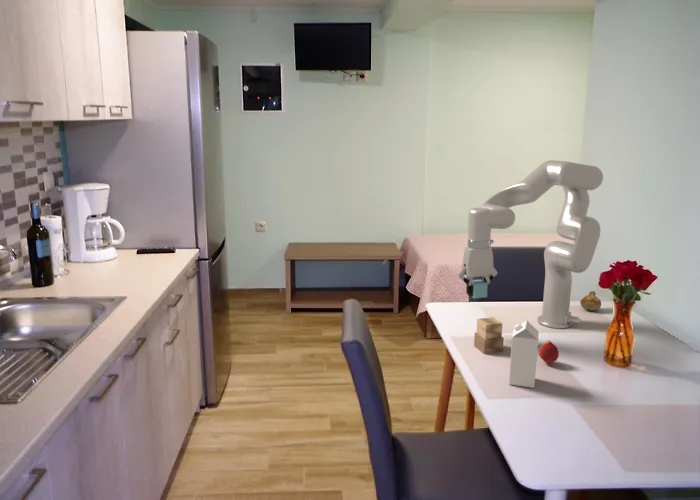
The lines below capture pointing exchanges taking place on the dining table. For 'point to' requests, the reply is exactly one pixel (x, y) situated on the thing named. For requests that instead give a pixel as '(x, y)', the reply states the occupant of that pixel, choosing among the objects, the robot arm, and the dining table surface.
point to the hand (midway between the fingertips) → (477, 294)
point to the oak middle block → (489, 328)
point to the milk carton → (523, 355)
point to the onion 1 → (549, 352)
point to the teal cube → (479, 289)
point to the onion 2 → (591, 302)
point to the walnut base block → (488, 344)
